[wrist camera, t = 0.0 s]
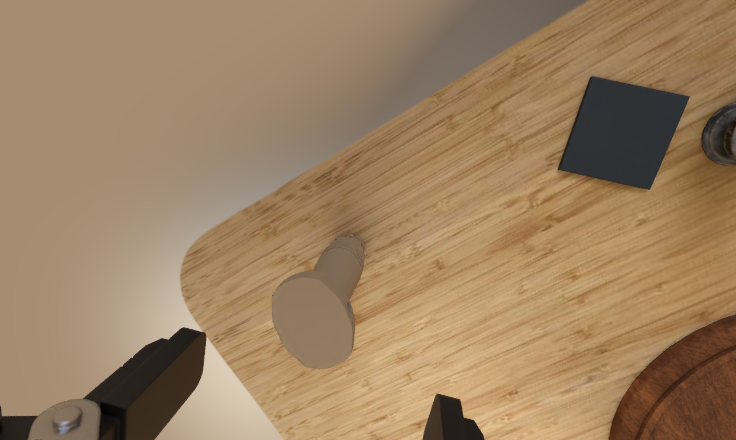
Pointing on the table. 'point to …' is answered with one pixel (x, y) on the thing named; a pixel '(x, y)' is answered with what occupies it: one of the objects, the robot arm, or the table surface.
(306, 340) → the handle
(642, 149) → the place mat
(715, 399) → the cutting board
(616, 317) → the table surface
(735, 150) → the grey stone chess piece
